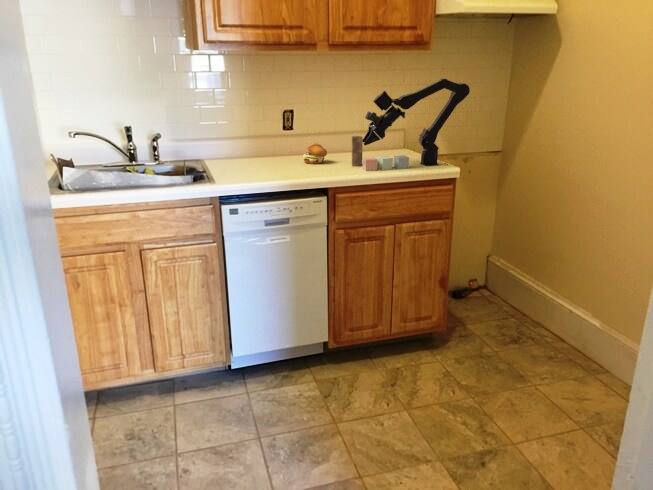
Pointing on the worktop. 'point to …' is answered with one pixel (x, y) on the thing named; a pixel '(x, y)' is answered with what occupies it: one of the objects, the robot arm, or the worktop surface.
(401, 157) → the slate cube
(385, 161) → the sage cube
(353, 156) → the walnut block
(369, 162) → the terracotta cube
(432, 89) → the robot arm
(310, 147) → the cheeseburger
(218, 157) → the worktop surface
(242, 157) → the worktop surface
